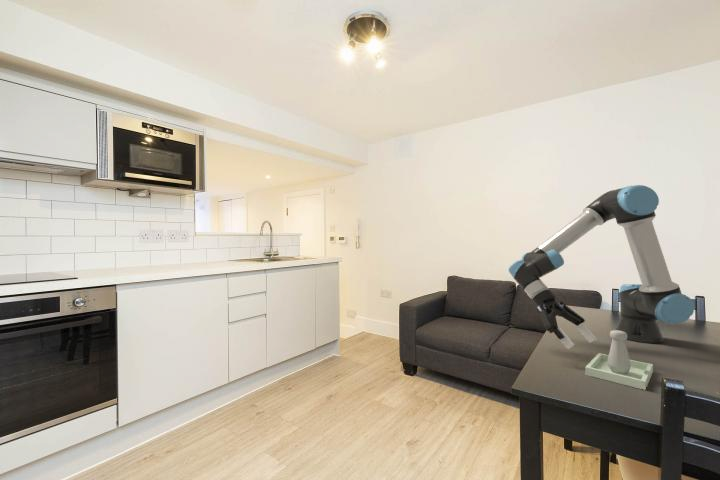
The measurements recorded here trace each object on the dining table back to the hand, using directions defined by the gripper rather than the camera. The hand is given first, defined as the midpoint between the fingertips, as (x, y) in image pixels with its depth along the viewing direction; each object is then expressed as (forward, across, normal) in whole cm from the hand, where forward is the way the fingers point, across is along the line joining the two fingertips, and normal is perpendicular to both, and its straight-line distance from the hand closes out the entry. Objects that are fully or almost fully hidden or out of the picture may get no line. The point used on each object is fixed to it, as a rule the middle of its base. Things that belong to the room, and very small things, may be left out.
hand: (582, 343), depth 108 cm
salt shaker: (+12, 0, +3) cm, 12 cm away
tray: (+12, 0, +3) cm, 12 cm away
